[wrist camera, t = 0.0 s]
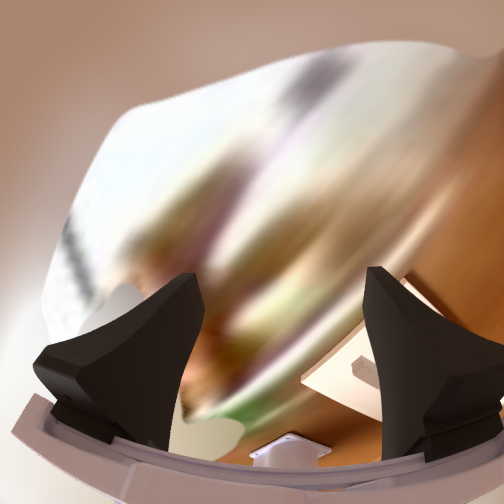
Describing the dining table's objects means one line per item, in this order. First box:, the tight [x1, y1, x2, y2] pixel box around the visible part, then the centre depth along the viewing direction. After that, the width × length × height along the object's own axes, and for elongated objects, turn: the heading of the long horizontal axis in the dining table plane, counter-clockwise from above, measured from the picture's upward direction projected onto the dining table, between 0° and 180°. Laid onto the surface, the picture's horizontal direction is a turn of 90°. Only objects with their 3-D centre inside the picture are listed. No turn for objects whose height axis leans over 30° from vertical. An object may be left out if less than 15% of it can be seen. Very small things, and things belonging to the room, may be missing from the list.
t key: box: [351, 355, 380, 390], centre depth 21 cm, size 2×12×4 cm, turn 56°
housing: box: [301, 277, 444, 422], centre depth 23 cm, size 14×20×1 cm
